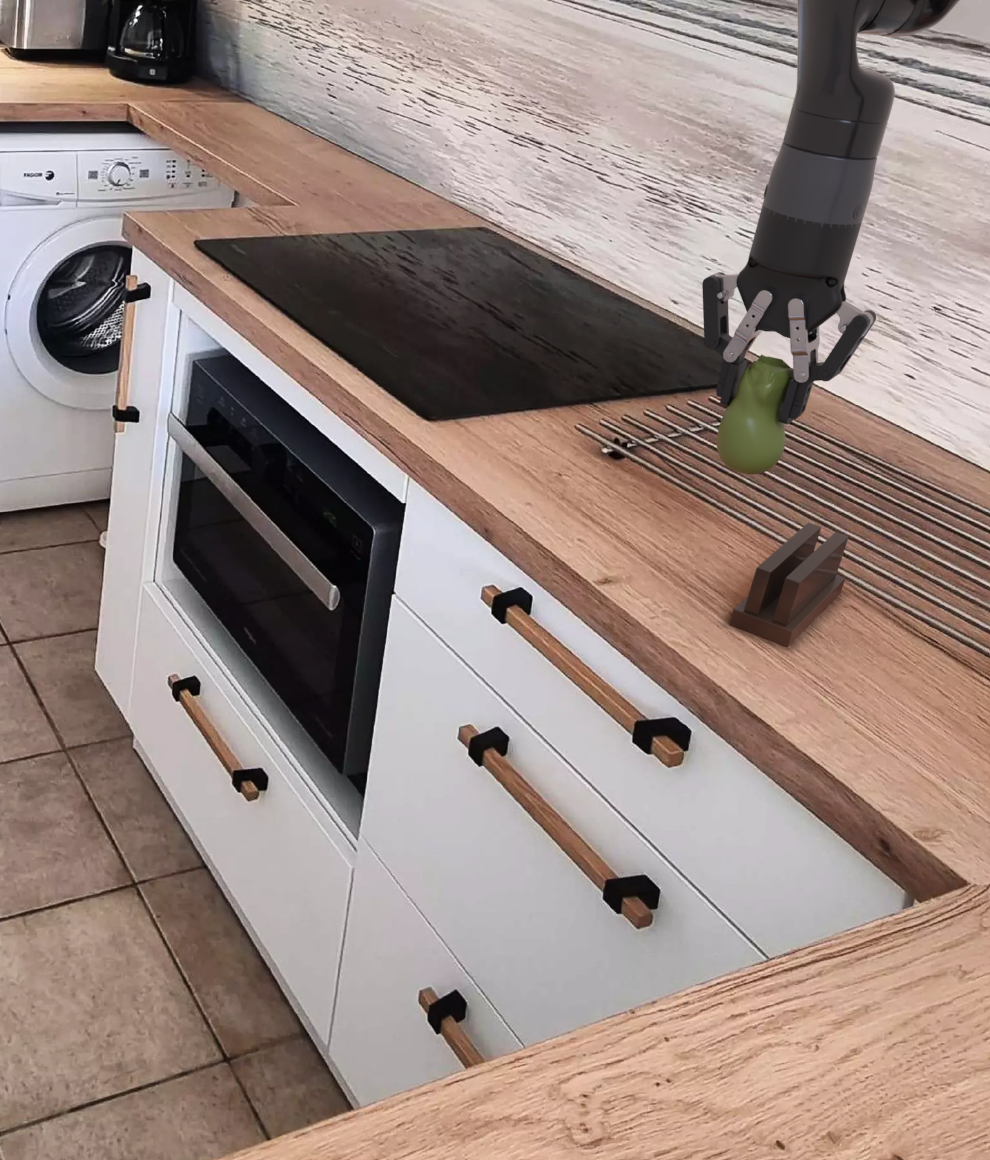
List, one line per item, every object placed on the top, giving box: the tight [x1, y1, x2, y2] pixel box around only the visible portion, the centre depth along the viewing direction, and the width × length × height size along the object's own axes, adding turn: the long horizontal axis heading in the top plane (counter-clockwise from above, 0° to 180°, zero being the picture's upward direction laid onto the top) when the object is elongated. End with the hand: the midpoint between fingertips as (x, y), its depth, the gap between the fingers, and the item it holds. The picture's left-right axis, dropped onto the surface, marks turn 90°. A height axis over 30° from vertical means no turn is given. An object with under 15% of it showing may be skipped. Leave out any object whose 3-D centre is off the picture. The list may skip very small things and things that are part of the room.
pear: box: [716, 354, 794, 475], centre depth 126 cm, size 6×5×10 cm
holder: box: [728, 522, 849, 648], centre depth 129 cm, size 5×14×6 cm, turn 143°
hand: (756, 411), depth 126 cm, fingers closed on pear, 4 cm apart
